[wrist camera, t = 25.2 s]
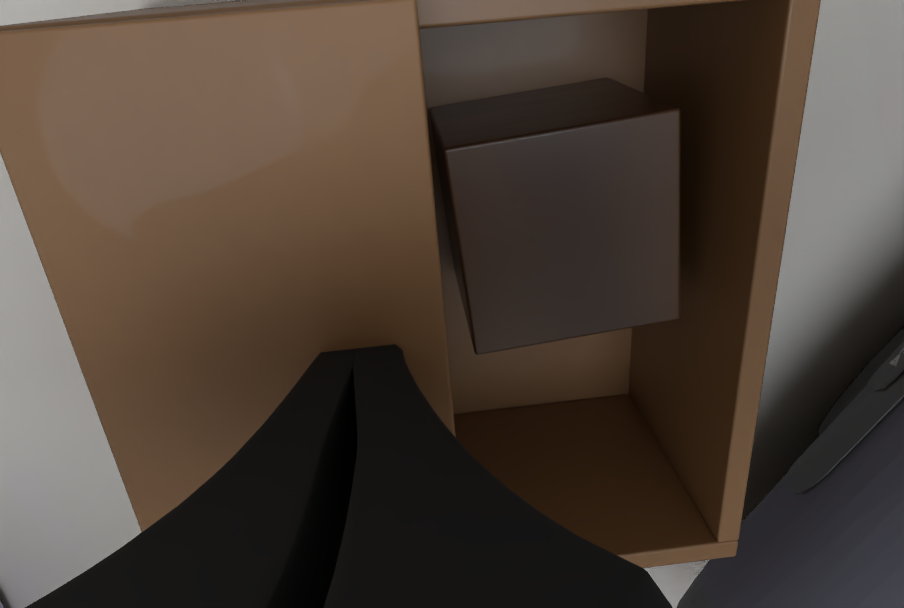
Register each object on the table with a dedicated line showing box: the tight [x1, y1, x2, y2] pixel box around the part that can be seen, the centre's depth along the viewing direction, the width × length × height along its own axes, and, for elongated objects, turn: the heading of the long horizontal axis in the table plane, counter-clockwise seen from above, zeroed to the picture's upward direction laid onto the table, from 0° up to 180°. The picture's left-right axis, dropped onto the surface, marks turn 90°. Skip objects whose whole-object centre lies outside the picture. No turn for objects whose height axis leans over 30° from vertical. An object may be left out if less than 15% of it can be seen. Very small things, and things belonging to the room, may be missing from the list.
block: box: [429, 77, 680, 355], centre depth 15 cm, size 4×4×4 cm
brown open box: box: [0, 0, 821, 568], centre depth 15 cm, size 12×12×6 cm
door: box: [0, 0, 456, 532], centre depth 11 cm, size 6×12×1 cm, turn 4°
